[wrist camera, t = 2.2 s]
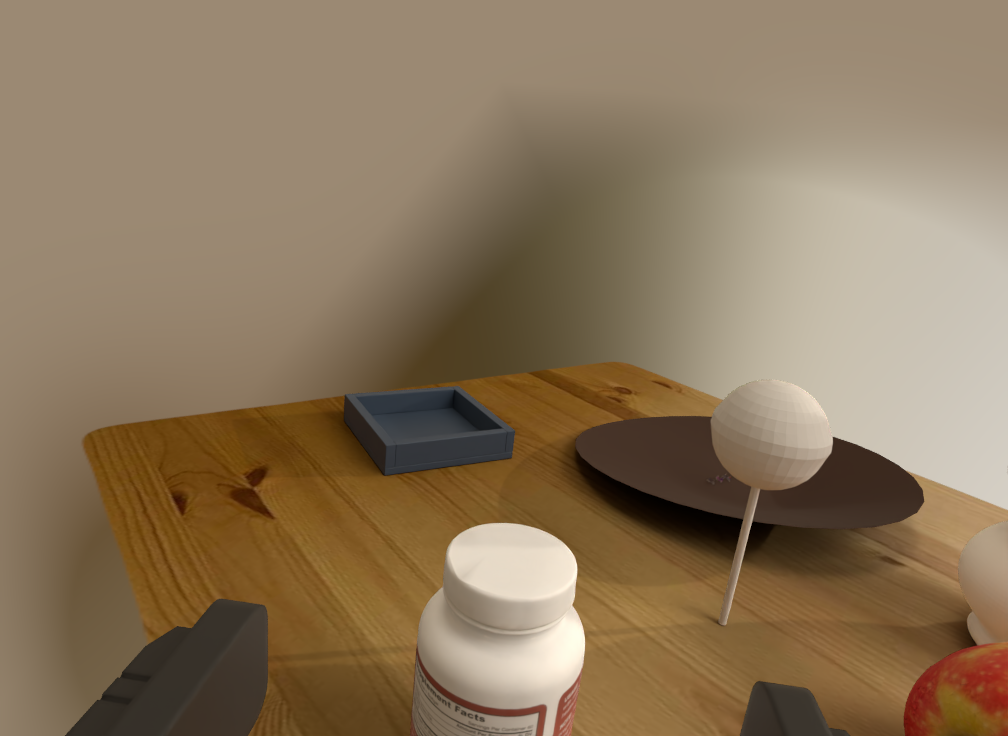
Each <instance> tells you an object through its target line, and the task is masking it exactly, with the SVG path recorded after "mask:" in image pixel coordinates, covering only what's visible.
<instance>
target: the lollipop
mask: <svg viewBox="0 0 1008 736" xmlns="http://www.w3.org/2000/svg"><path fill="white" fill-rule="evenodd" d="M711 432H712V442H713V447H714V450H715V453H716V455H717V457H718V459H719V460H720V462H721V464H722V465H723V467H724V468H725V469H726V470H727V471H728V472H729V473H730V474H731V475H732V476H733V477H735V478H736V479H738V480H739V481H741V482H743V483H744V484H746V485H749V486H751V491H750V495H749V499H748V503H747V507H746V511H745V515H744V519H743V523H742V527H741V531H740V535H739V539H738V544H737V548H736V552H735V556H734V560H733V564H732V568H731V572H730V576H729V580H728V584H727V588H726V592H725V596H724V600H723V604H722V608H721V613H720V617H719V621H718V622H719V624H721V625H726V623H727V619H728V615H729V611H730V607H731V603H732V599H733V595H734V591H735V588H736V584H737V580H738V576H739V572H740V568H741V564H742V560H743V556H744V552H745V548H746V544H747V540H748V536H749V532H750V528H751V524H752V520H753V516H754V512H755V508H756V504H757V500H758V496H759V492H760V489H762V490H784V489H788V488H792V487H795V486H797V485H799V484H801V483H803V482H805V481H807V480H808V479H810V478H811V477H812V476H813V475H814V474H815V473H816V472H817V471H818V470H819V469H820V467H821V466H822V464H823V463H824V462H825V460H826V459H827V458H828V456H829V455H830V454H831V451H832V445H833V437H832V433H831V430H830V426H829V423H828V420H827V417H826V415H825V413H824V411H823V409H822V408H821V406H820V404H819V403H818V402H817V401H816V400H815V399H814V398H813V397H812V396H811V395H810V394H809V393H807V392H806V391H805V390H803V389H802V388H800V387H798V386H796V385H793V384H791V383H788V382H784V381H780V380H758V381H753V382H749V383H747V384H745V385H742V386H740V387H738V388H737V389H735V390H734V391H732V392H731V393H730V394H729V395H728V396H727V397H726V398H725V399H724V400H723V401H722V402H721V403H720V404H719V405H718V406H717V407H716V408H715V410H714V412H713V415H712V418H711Z"/></svg>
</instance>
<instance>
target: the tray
mask: <svg viewBox="0 0 1008 736" xmlns="http://www.w3.org/2000/svg"><path fill="white" fill-rule="evenodd" d="M344 421H345V422H346V424H347V425H348V426H349V428H350V429H351V431H352V432H353V433H354V435H355V436H356V437H357V439H358V440H359V441H360V443H361V444H362V445H363V447H364V448H365V450H366V451H367V452H368V454H369V455H370V456H371V458H372V459H373V460H374V462H375V463H376V465H377V466H378V467H379V469H380V470H381V471H382V473H383V474H384V475H391V474H399V473H406V472H413V471H420V470H428V469H435V468H442V467H449V466H457V465H464V464H471V463H479V462H486V461H493V460H500V459H508V458H512V451H513V443H514V435H515V430H513V429H512V428H511V427H509V426H508V425H507V424H506V423H504V422H503V421H502V420H501V419H499V418H498V417H497V416H496V415H494V414H493V413H492V412H490V411H489V410H488V409H487V408H485V407H484V406H483V405H482V404H480V403H479V402H478V401H477V400H475V399H474V398H473V397H471V396H470V395H469V394H468V393H466V392H465V391H464V390H463V389H461V388H460V387H459V386H455V387H441V388H427V389H413V390H399V391H385V392H371V393H357V394H345V403H344Z"/></svg>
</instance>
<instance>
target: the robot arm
mask: <svg viewBox="0 0 1008 736" xmlns="http://www.w3.org/2000/svg"><path fill="white" fill-rule="evenodd" d="M267 682H268V616H267V609H266V607H265V606H264V605H260V604H253V603H247V602H240V601H233V600H227V599H218V600H216V601H215V602H214V603H213V604H212V605H211V606H210V607H209V608H208V609H207V611H206V612H205V613H204V614H203V615H202V617H201V618H200V619H199V620H198V621H197V623H196V624H195V625H194V626H193V627H192V628H186V627H179V626H177V627H175V628H174V629H172V630H171V631H169V632H167V633H166V634H164V635H163V636H161V637H159V638H158V639H156V640H155V641H153V642H152V643H150V644H148V645H147V646H145V647H144V648H143V650H142V651H141V652H140V653H139V654H138V655H137V657H135V659H134V660H133V661H132V662H131V663H130V664H129V665H128V666H127V667H126V669H125V670H124V671H123V672H122V675H121V677H120V678H117V679H116V680H115V681H114V682H113V683H112V684H111V685H110V686H109V687H108V689H107V690H106V691H105V692H104V693H103V694H102V698H101V700H97V701H96V702H95V703H94V704H93V705H92V706H91V707H90V709H89V710H88V711H87V712H86V713H85V714H84V715H83V717H81V719H80V720H79V721H78V722H77V723H76V724H75V725H74V727H72V729H71V730H70V731H69V732H68V733H67V734H66V735H65V736H248V735H249V733H250V731H251V729H252V728H253V726H254V724H255V722H256V720H257V718H258V716H259V714H260V711H261V708H262V705H263V702H264V699H265V694H266V689H267ZM740 736H850V735H849V734H848V733H847V732H846V731H845V730H839V729H832V728H829V727H828V725H827V723H826V721H825V719H824V716H823V714H822V712H821V710H820V708H819V706H818V704H817V702H816V700H815V698H814V696H813V694H812V693H811V692H810V691H809V690H808V689H806V688H801V687H795V686H788V685H781V684H775V683H768V682H761V681H758V682H756V683H755V685H754V686H753V689H752V692H751V695H750V699H749V703H748V707H747V711H746V714H745V718H744V722H743V726H742V729H741V733H740Z"/></svg>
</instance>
